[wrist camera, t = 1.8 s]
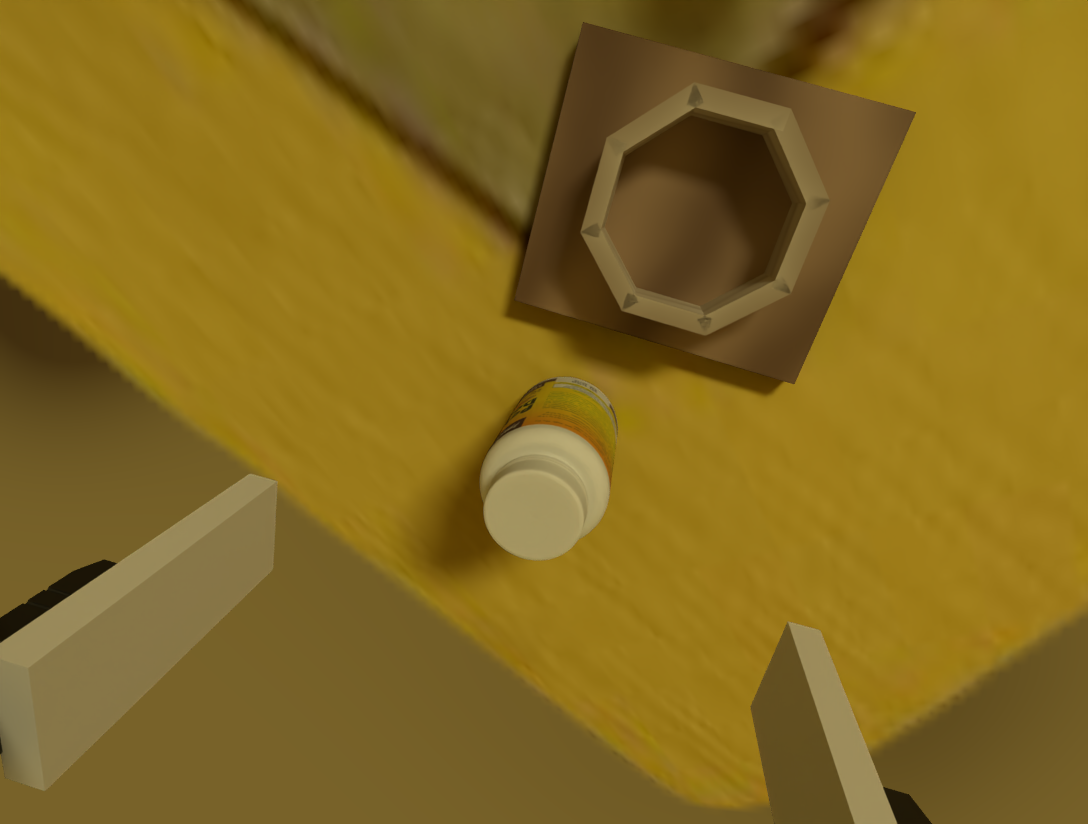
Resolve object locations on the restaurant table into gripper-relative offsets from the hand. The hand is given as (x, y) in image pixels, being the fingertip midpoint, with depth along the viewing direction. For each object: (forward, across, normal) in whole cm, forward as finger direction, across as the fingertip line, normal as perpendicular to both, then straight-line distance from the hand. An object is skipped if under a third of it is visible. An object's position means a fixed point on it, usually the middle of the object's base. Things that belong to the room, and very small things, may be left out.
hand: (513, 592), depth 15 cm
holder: (+18, +3, +10) cm, 20 cm away
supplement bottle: (+18, 0, -2) cm, 18 cm away
